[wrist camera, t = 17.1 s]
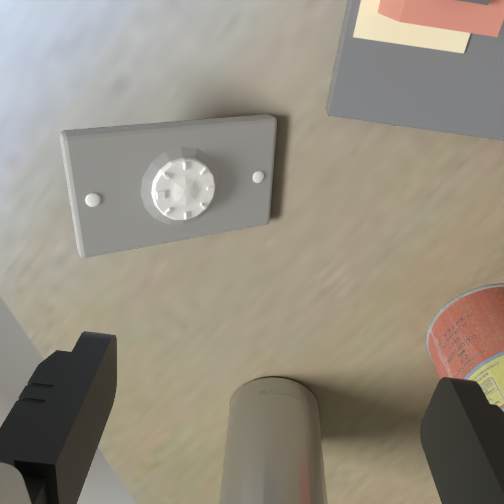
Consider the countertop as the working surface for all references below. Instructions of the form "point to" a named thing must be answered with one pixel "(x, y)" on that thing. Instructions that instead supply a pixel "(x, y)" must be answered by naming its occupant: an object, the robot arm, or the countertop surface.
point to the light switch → (168, 180)
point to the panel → (417, 75)
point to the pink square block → (448, 14)
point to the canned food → (472, 340)
